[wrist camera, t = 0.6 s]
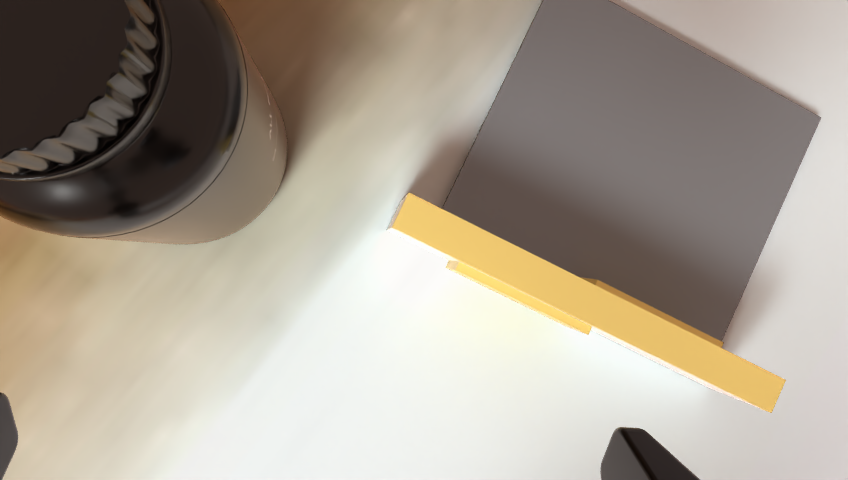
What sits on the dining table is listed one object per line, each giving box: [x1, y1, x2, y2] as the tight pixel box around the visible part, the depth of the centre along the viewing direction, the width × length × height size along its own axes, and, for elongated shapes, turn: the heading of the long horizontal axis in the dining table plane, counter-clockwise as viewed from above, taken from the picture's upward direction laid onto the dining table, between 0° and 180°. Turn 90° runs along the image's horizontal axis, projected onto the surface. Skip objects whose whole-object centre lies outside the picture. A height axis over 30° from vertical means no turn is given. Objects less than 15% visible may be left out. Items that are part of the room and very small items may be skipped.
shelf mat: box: [442, 0, 821, 341], centre depth 23 cm, size 10×12×1 cm
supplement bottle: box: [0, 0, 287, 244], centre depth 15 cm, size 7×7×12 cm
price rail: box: [387, 193, 786, 413], centre depth 21 cm, size 2×14×4 cm, turn 64°
